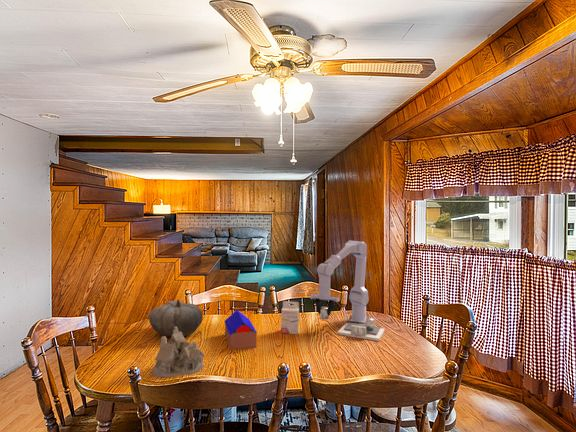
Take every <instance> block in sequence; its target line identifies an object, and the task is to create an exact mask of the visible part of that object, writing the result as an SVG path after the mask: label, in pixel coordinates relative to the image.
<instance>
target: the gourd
mask: <svg viewBox="0 0 576 432" xmlns="http://www.w3.org/2000/svg"><path fill="white" fill-rule="evenodd" d="M148 314H149V315H148V322H149V324H150V326H151V328H152V329H153V330H154V331H155V332H156V333H157V334H159V335H160V336H161V337H163V336H166V338H167V337H170V338H171V337H172V335H173V330H174V327H177V328H178V331H179V332H180V331H181V332H182V334H183V336H184V337H186V336H188V335H191V334H193V333H194V332H196V331H197V330H198V328H199V327H200V326H201V324H202V322H203V312H202V310H201V308H199V306H198V305H196V304H194V303H184V302H182V301H180V300H179V298H178V299H177V300H169V301H167V302H166V303H164V304H162V305H161V306H158V307H155V308H153V309H152V310H151V311H150V312H149V313H148Z"/></svg>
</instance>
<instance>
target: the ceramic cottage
mask: <svg viewBox="0 0 576 432" xmlns="http://www.w3.org/2000/svg"><path fill="white" fill-rule="evenodd" d="M204 356H205V353H204V352H203V351H202V350H201V349H200V348H199V347H198V345H197V341H193V342H192V343H191V342H190V341H186V338H185V336H183V334H182V332H181V331H180V332H179V331H178V328H177V327H174V330H173V335H172V337H171V336H170V339H169V340H168V339H167V337H166V336H161V339H160V343H159V350H158V352H157V354H156V357H155V358H154V360H155V361H156V362H155V364H154V365H153V367H152V372H151V373H152V375H153V377H154V376H155V377H157V378H158V377H159V378H171V377H179V376H187V375H194V374H197V373H198V372H200V370H201V371H202V370H203V369H204V368H205V367H204V363H203V360H204Z"/></svg>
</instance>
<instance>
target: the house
mask: <svg viewBox="0 0 576 432" xmlns="http://www.w3.org/2000/svg"><path fill="white" fill-rule="evenodd" d="M257 334H258V332H257V330H256V329H255V327H254V325H253V323H252V322H251V321H250V319H249V318H248V317H247V316H246V315H244V314H243V313H242V312H240V311H239V310H238V309H236V310H235V311H233V312H232V313H231V315H229V317H227V318H226V319H225V320H224V335H225V338H226V340H227V344H228V347H229V350H230V351H235V350H245V349H253V348H255V349H256V348H257Z"/></svg>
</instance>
